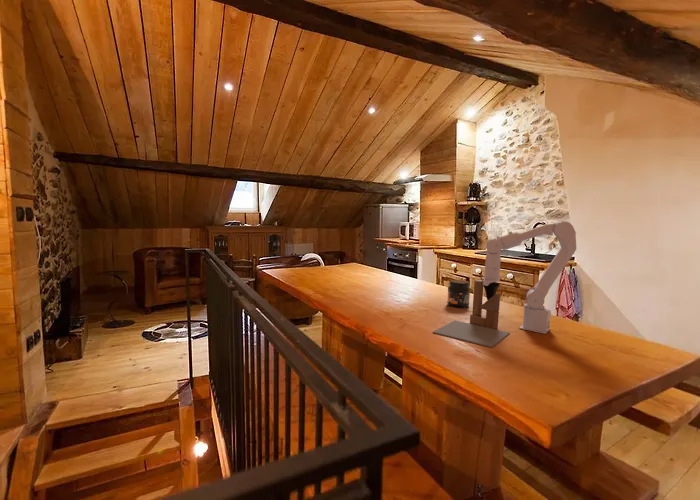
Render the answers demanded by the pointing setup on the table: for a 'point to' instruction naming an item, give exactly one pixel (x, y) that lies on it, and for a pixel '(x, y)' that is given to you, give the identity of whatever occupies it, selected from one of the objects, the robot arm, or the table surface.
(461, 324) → the mat
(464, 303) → the supplement container
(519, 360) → the table surface
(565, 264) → the robot arm
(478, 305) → the wooden block
